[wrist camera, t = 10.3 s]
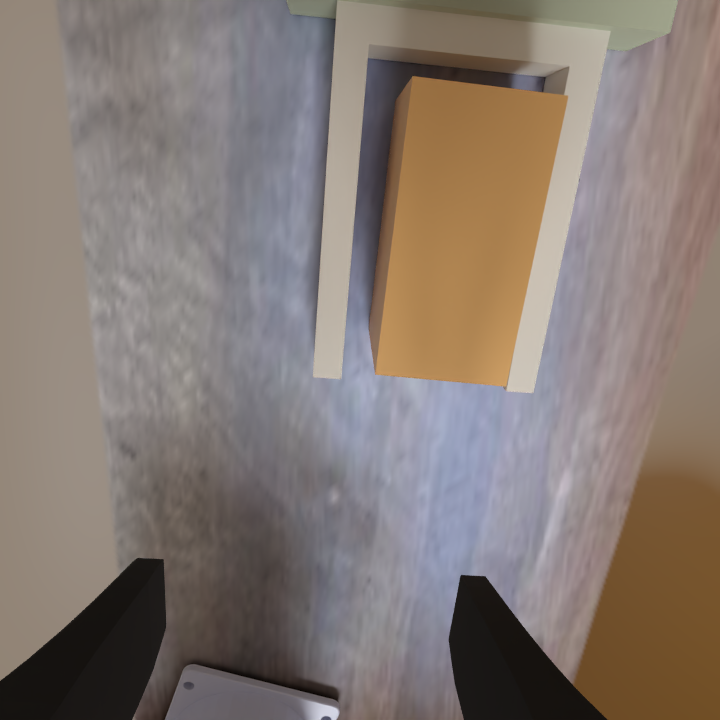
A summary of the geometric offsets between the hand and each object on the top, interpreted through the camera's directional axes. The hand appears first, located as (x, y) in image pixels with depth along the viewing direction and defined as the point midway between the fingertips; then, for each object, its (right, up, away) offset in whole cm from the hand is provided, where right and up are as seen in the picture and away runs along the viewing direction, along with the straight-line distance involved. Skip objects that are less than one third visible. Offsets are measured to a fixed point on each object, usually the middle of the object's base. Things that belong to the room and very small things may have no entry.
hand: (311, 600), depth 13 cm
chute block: (+4, +11, +6) cm, 13 cm away
